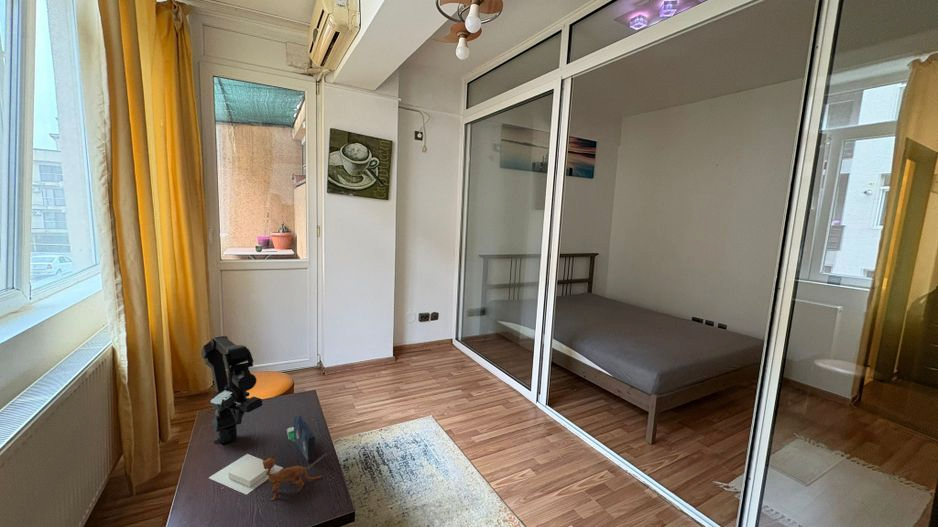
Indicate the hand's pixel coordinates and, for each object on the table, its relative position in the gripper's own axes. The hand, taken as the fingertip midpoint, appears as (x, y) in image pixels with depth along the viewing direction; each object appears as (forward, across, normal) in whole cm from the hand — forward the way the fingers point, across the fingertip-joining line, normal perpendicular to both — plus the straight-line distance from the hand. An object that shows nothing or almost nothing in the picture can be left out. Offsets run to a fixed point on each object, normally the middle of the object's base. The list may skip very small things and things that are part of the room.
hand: (238, 421), depth 133 cm
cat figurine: (+13, +31, -4) cm, 34 cm away
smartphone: (+14, +10, +18) cm, 25 cm away
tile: (+11, +9, -6) cm, 16 cm away
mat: (+13, +12, -6) cm, 19 cm away
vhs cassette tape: (+13, +19, +12) cm, 26 cm away
